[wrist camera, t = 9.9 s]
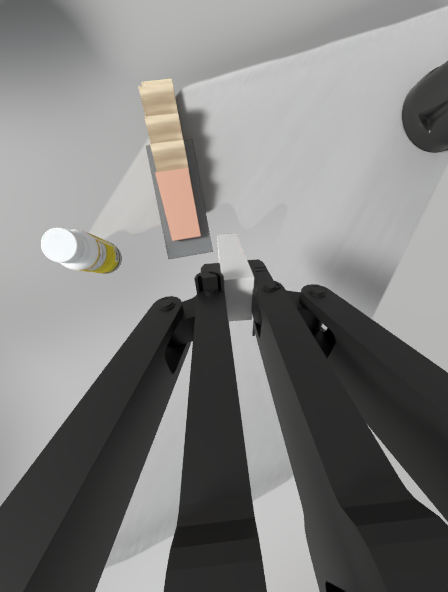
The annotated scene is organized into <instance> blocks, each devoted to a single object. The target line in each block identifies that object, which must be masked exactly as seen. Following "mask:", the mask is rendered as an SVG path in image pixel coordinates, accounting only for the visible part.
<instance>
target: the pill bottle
mask: <svg viewBox="0 0 448 592" xmlns="http://www.w3.org/2000/svg"><path fill="white" fill-rule="evenodd" d="M41 248H42V251H43V253H44V254H45V255H46V256H47V257H48V258H49V259H50V260H52V261H55V262H59V263H61V264H62V265H63V266H65V267H67V268H69V269H73V270H79V271H87V272H96V273H105V274H106V273H111V272H114V271H115V270H117V269H118V268H119V266H120V264H121V261H122V256H121V253H120V251H119V249H118V248H117V247H116V246H115V245H114V244H111V243H109V242H107V241H105V240H103V239H101V238H99V237H96V236H94V235H92V234H89V233H87V232H85V231H81V230H77V229H71V230H67V229H64V228H52V229H50V230H48V231H47V232H46V233H45V234H44V235H43V237H42V239H41Z"/></svg>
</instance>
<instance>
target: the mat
mask: <svg viewBox="0 0 448 592" xmlns="http://www.w3.org/2000/svg"><path fill="white" fill-rule="evenodd" d="M184 146H185V152H186V157H187V163H188V168H189V174H190V179H191V185H192V190H193V196H194V201H195V206H196V212H197V219H198V224H199V229H200V234H201V236H199V237H193V238H186V239H180V240H174V241H172V238H171V234H170V230H169V226H168V222H167V218H166V214H165V210H164V206H163V202H162V198H161V194H160V191H159V187H158V183H157V179H156V175H155V172H157V171H156V167H155V163H154V159H153V155H152V151H151V147H150V145H147V146H146V149H147V154H148V159H149V164H150V169H151V174H152V179H153V184H154V189H155V194H156V199H157V204H158V209H159V214H160V219H161V224H162V229H163V233H164V239H165V244H166V249H167V254H168V259H172V258H179V257H184V256H190V255H196V254H202V253H207V252H213V250H212V244H211V239H210V234H209V228H208V223H207V217H206V212H205V206H204V201H203V196H202V190H201V185H200V180H199V174H198V169H197V163H196V158H195V153H194V147H193V142H192V140H185V141H184Z"/></svg>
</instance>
